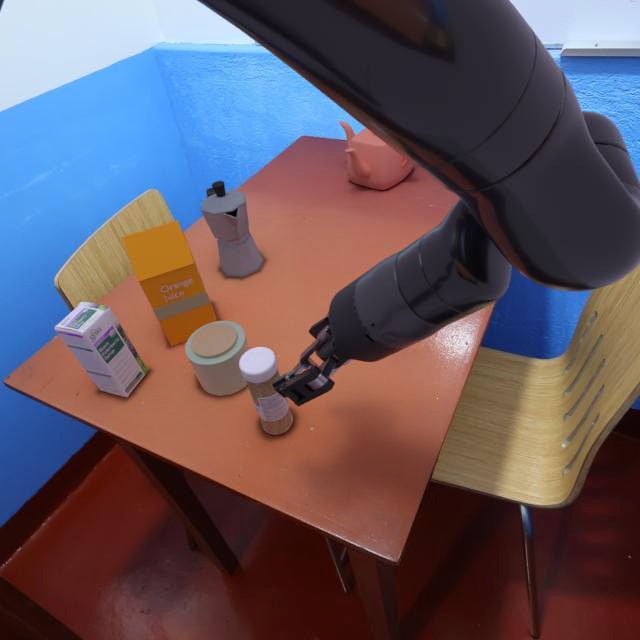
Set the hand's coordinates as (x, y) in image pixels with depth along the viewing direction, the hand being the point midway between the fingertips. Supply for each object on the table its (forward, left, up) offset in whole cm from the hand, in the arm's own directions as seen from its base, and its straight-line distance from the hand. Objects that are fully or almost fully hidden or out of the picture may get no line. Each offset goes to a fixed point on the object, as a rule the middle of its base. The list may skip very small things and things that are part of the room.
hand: (298, 361), depth 53 cm
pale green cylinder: (+2, +19, -15) cm, 25 cm away
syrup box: (-8, +33, -16) cm, 37 cm away
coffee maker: (+25, +38, -16) cm, 48 cm away
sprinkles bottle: (-1, +6, -16) cm, 17 cm away
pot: (+68, +31, -16) cm, 76 cm away
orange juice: (+7, +33, -16) cm, 37 cm away
